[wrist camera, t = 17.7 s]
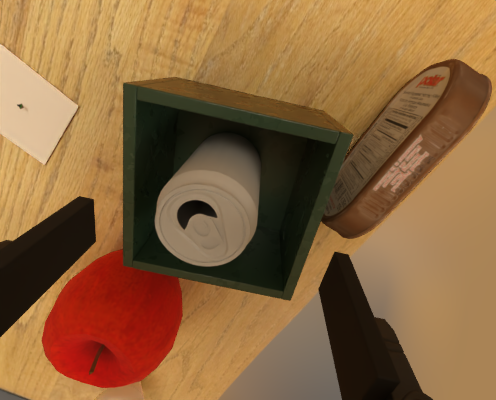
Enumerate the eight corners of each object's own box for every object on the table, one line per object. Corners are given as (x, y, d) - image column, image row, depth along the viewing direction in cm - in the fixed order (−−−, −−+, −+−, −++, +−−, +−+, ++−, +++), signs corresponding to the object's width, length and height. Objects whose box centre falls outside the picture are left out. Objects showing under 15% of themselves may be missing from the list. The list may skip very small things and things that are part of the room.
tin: (331, 210, 29) (353, 262, 21) (306, 196, 28) (320, 243, 21) (445, 75, 23) (534, 80, 15) (417, 54, 22) (493, 47, 15)
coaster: (-32, 111, 27) (-40, 112, 26) (-4, 40, 24) (-13, 39, 23) (44, 165, 29) (39, 167, 28) (78, 106, 26) (73, 107, 25)
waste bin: (324, 110, 25) (353, 134, 16) (284, 235, 31) (290, 301, 22) (174, 76, 24) (122, 82, 16) (164, 209, 30) (122, 266, 22)
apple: (124, 304, 37) (56, 417, 25) (85, 231, 32) (-23, 329, 20) (208, 295, 35) (177, 412, 23) (180, 216, 30) (123, 314, 18)
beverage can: (245, 119, 25) (226, 160, 14) (271, 180, 27) (273, 255, 16) (184, 146, 26) (125, 201, 15) (214, 202, 29) (182, 283, 18)
